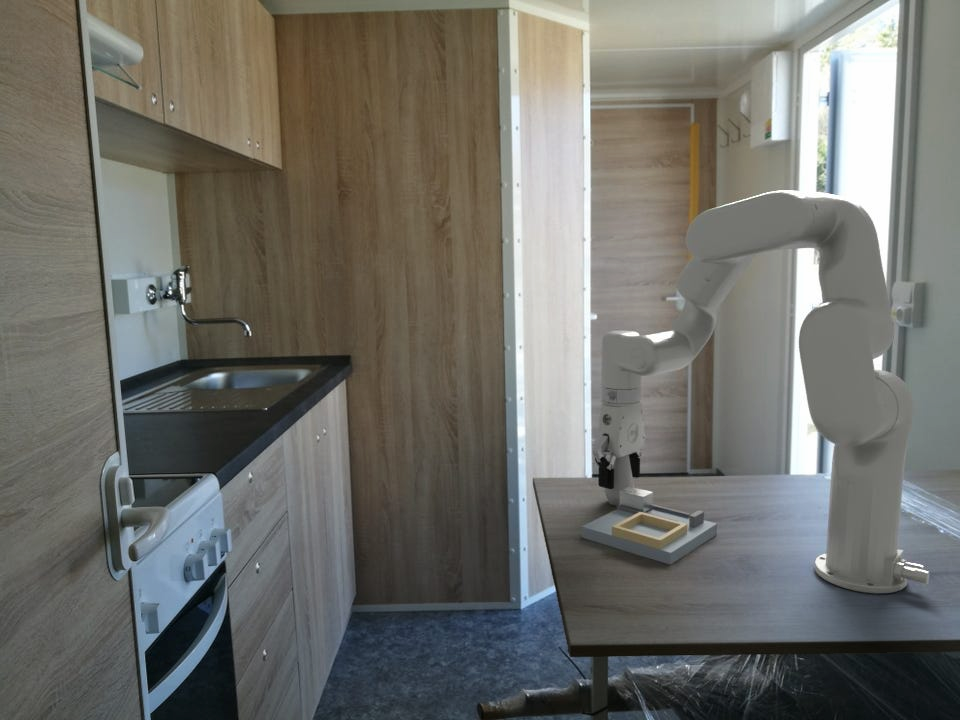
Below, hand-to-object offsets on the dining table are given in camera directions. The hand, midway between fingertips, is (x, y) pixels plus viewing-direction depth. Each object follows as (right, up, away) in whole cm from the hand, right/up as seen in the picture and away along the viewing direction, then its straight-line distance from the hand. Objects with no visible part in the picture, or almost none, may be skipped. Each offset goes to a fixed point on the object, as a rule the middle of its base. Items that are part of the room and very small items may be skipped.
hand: (619, 481), depth 146 cm
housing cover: (+1, -3, -8) cm, 9 cm away
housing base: (+2, -7, -16) cm, 18 cm away
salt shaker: (0, -4, +1) cm, 5 cm away
